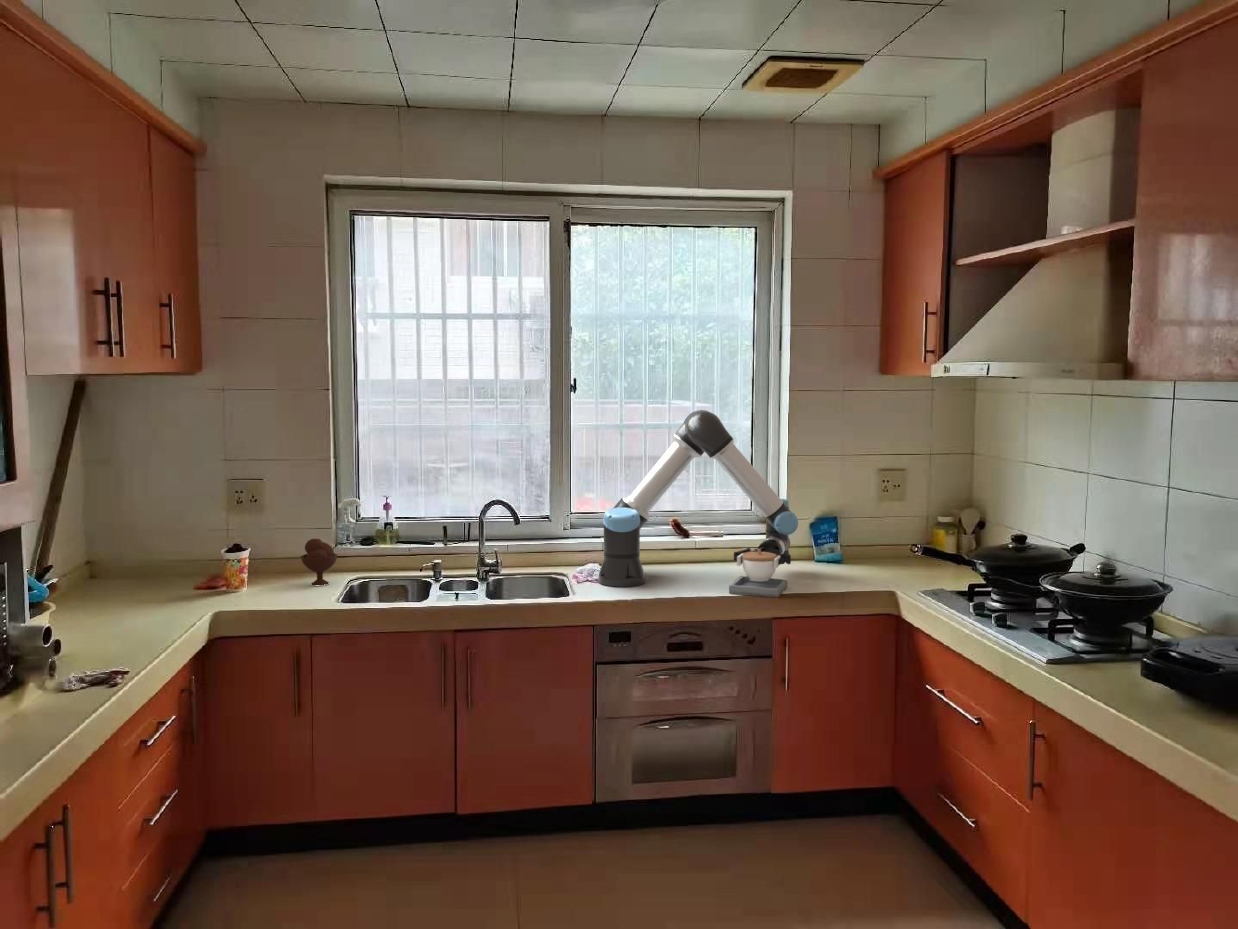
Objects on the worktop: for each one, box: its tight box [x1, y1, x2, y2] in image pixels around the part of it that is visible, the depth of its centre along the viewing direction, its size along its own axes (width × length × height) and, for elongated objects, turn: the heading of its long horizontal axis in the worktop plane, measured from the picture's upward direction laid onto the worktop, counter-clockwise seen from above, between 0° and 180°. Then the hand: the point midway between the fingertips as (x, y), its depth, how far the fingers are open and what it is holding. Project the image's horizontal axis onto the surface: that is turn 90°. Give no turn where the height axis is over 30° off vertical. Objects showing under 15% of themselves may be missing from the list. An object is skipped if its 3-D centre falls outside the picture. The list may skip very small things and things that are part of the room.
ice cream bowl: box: [300, 538, 338, 586], centre depth 285 cm, size 11×11×15 cm
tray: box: [728, 575, 788, 599], centre depth 277 cm, size 15×15×2 cm
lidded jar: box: [741, 548, 777, 581], centre depth 276 cm, size 11×11×9 cm
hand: (756, 562), depth 272 cm, fingers closed on lidded jar, 11 cm apart
